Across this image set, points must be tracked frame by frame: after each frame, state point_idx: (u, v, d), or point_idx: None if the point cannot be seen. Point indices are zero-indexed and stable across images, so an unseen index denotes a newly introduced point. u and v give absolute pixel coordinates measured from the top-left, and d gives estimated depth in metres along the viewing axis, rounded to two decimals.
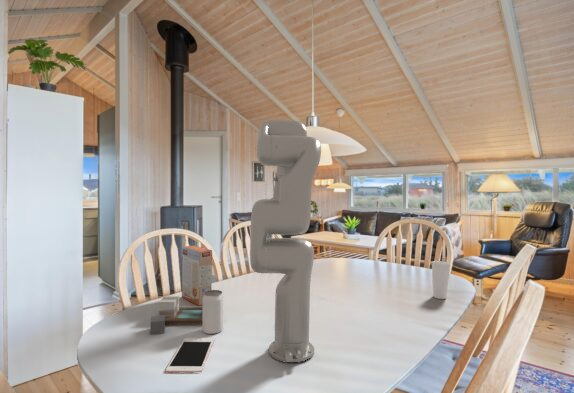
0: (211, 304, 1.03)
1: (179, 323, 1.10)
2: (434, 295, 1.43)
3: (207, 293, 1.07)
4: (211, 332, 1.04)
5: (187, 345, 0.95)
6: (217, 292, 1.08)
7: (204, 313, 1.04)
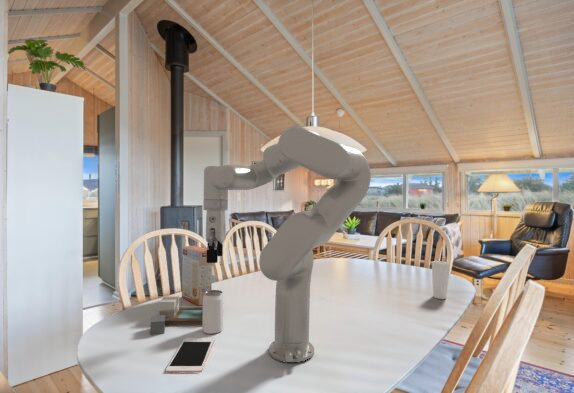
0: (211, 304, 1.03)
1: (179, 323, 1.10)
2: (434, 295, 1.43)
3: (207, 293, 1.07)
4: (211, 332, 1.04)
5: (187, 345, 0.95)
6: (217, 292, 1.08)
7: (204, 313, 1.04)
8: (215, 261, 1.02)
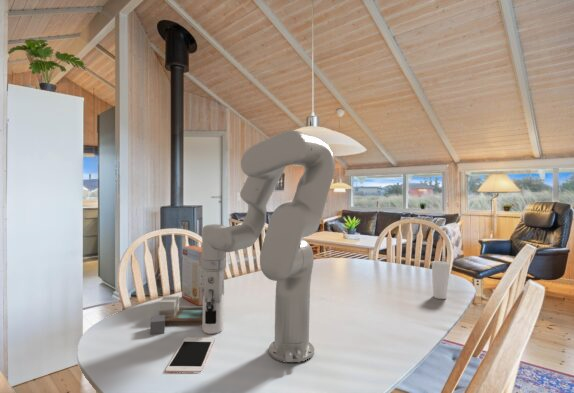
0: None
1: (179, 323, 1.10)
2: (434, 295, 1.43)
3: None
4: (211, 332, 1.04)
5: (187, 345, 0.95)
6: None
7: (204, 313, 1.04)
8: (214, 322, 1.03)
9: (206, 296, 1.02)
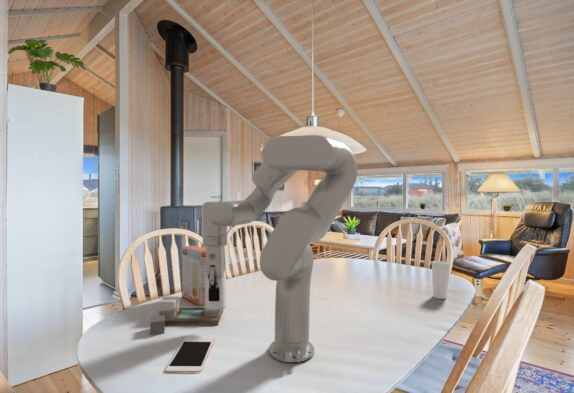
0: (214, 280, 1.04)
1: (179, 323, 1.10)
2: (434, 295, 1.43)
3: None
4: (214, 308, 1.04)
5: (187, 345, 0.95)
6: None
7: (207, 289, 1.04)
8: (217, 299, 1.03)
9: (208, 274, 1.02)
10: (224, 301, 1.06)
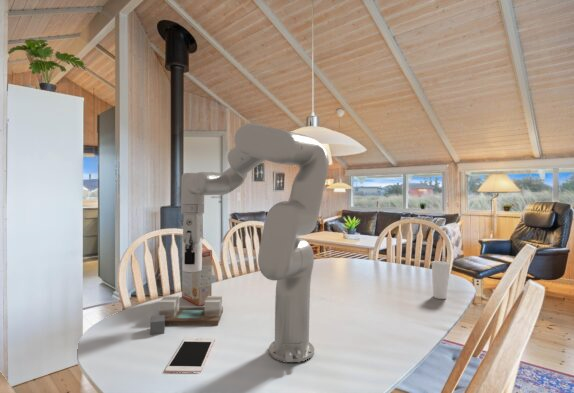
0: None
1: (179, 323, 1.10)
2: (434, 295, 1.43)
3: None
4: (190, 271, 1.12)
5: (187, 345, 0.95)
6: None
7: (184, 253, 1.13)
8: (192, 263, 1.12)
9: (184, 239, 1.10)
10: (199, 265, 1.14)
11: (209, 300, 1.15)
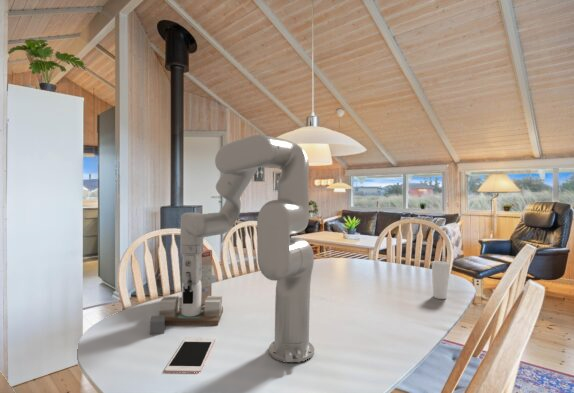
0: None
1: (179, 323, 1.10)
2: (434, 295, 1.43)
3: None
4: (189, 315, 1.13)
5: (187, 345, 0.95)
6: None
7: None
8: (191, 302, 1.11)
9: (183, 278, 1.11)
10: (198, 308, 1.15)
11: (209, 300, 1.15)
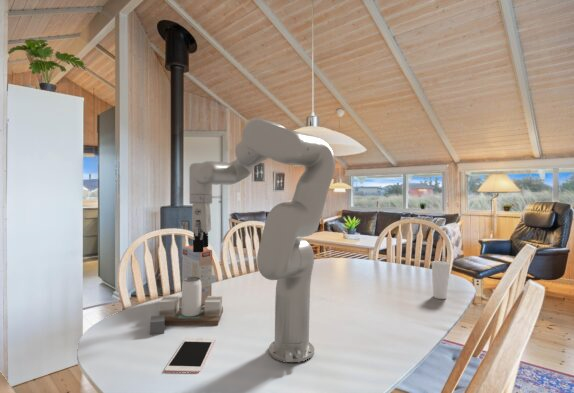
0: (189, 289, 1.12)
1: (179, 323, 1.10)
2: (434, 295, 1.43)
3: (186, 279, 1.16)
4: (189, 315, 1.13)
5: (187, 345, 0.96)
6: (196, 278, 1.17)
7: (183, 297, 1.13)
8: (201, 250, 1.11)
9: (194, 226, 1.11)
10: (198, 308, 1.15)
11: (209, 300, 1.15)
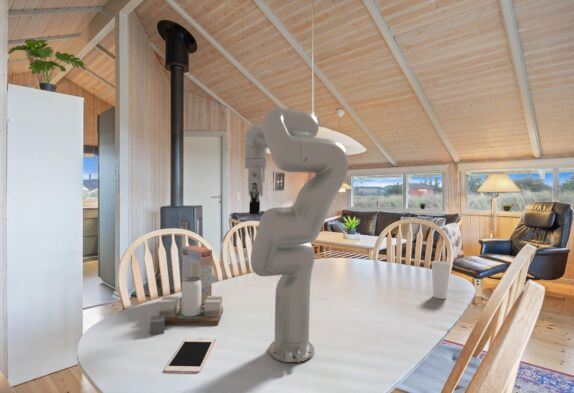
0: (189, 289, 1.12)
1: (179, 323, 1.10)
2: (434, 295, 1.43)
3: (186, 279, 1.16)
4: (189, 315, 1.13)
5: (188, 345, 0.96)
6: (196, 279, 1.17)
7: (183, 297, 1.13)
8: (257, 212, 1.15)
9: (250, 189, 1.15)
10: (198, 308, 1.15)
11: (209, 300, 1.15)
